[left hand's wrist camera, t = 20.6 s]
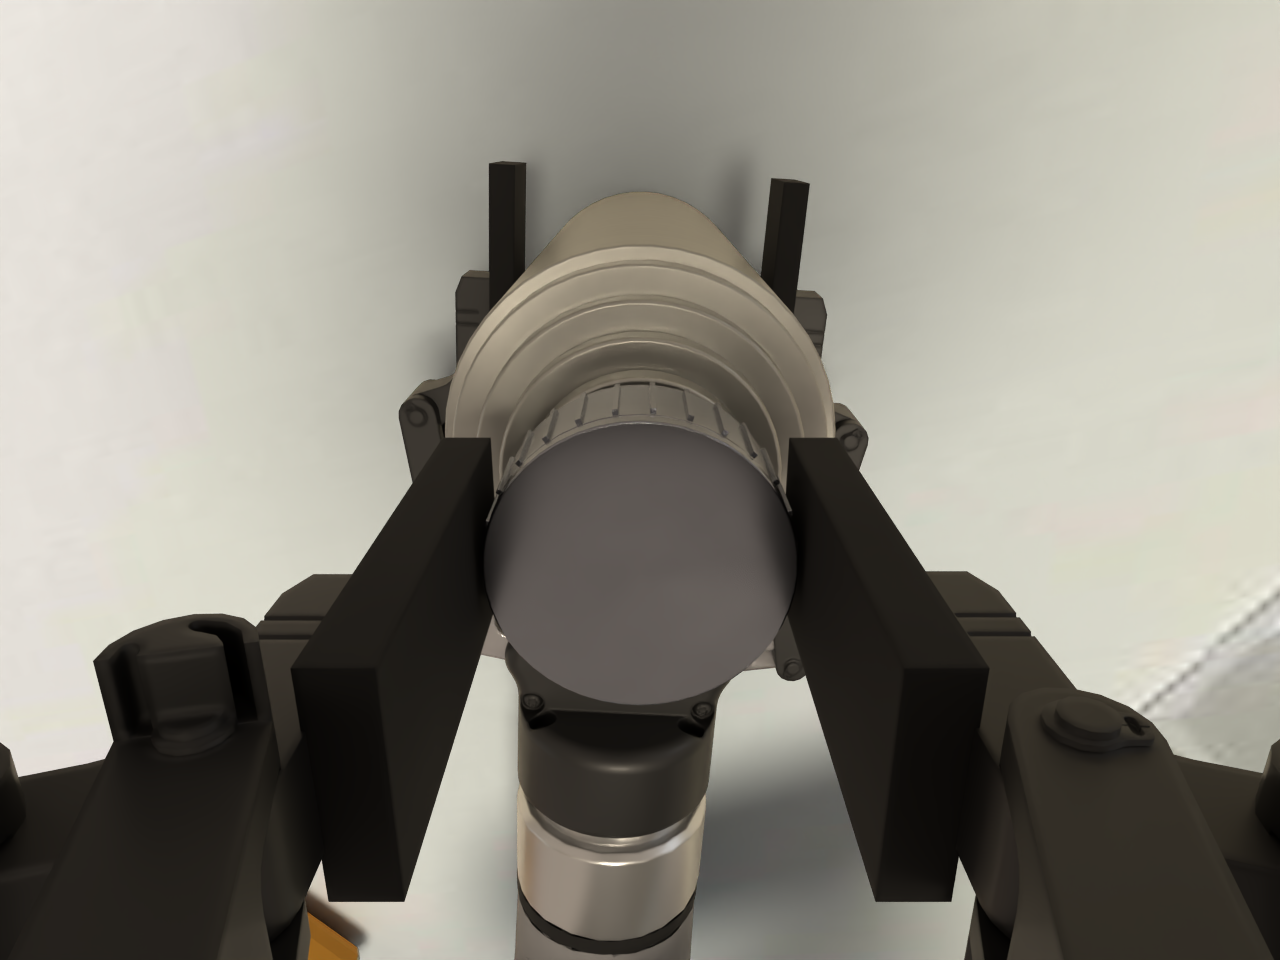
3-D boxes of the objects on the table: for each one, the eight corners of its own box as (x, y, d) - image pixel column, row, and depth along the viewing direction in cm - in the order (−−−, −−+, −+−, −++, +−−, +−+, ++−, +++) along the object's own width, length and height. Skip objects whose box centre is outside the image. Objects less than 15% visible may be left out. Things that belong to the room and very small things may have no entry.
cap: (663, 687, 16) (665, 759, 14) (442, 541, 15) (414, 597, 13) (841, 495, 14) (870, 547, 12) (612, 319, 13) (608, 347, 11)
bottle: (737, 183, 33) (916, 264, 12) (744, 388, 36) (897, 754, 14) (527, 200, 33) (327, 308, 12) (550, 401, 36) (421, 782, 15)
